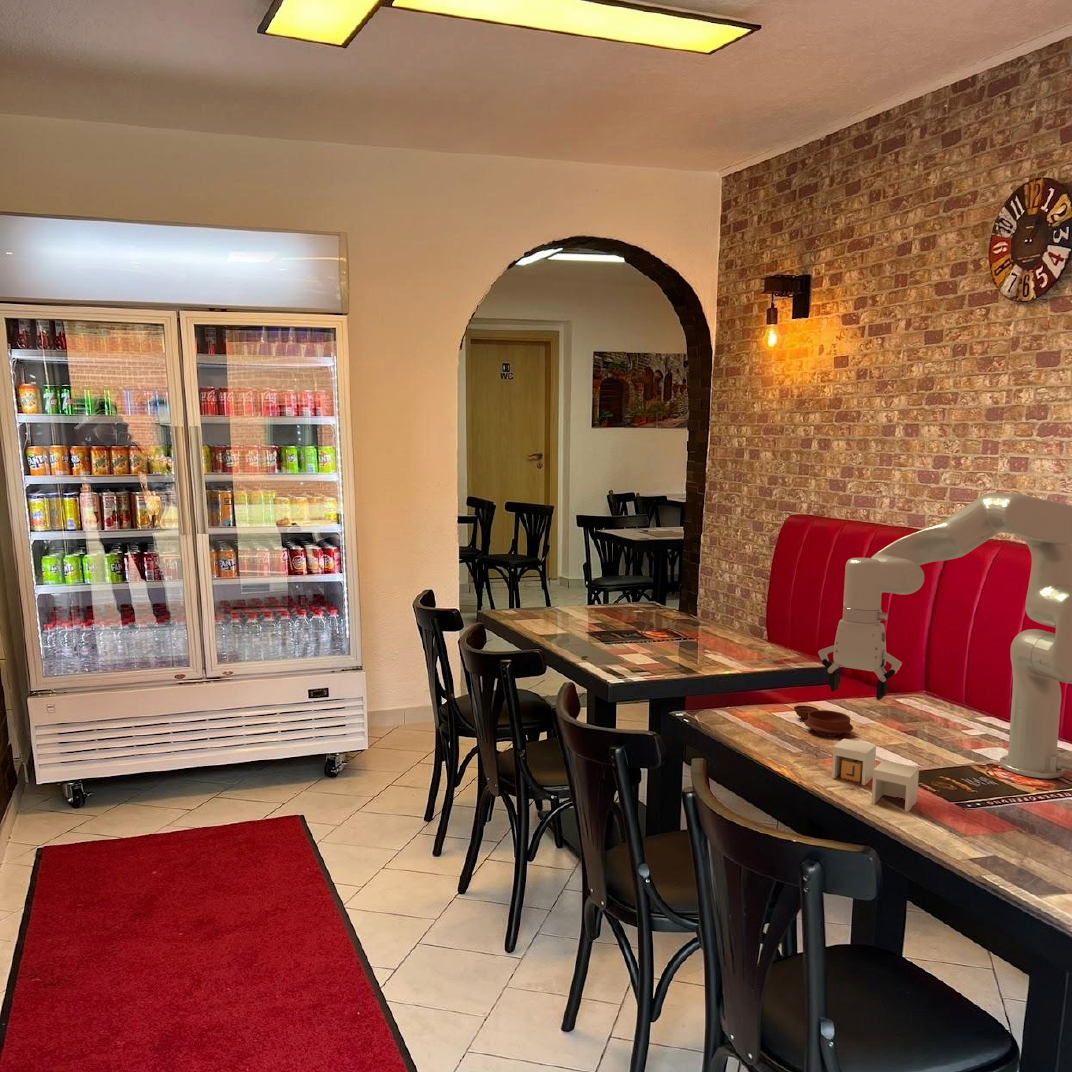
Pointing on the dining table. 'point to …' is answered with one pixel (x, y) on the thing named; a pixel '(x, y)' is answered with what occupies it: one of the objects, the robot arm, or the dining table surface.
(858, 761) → the letter cube
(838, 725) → the pottery
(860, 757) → the cover cube
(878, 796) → the cover empty
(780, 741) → the dining table surface
